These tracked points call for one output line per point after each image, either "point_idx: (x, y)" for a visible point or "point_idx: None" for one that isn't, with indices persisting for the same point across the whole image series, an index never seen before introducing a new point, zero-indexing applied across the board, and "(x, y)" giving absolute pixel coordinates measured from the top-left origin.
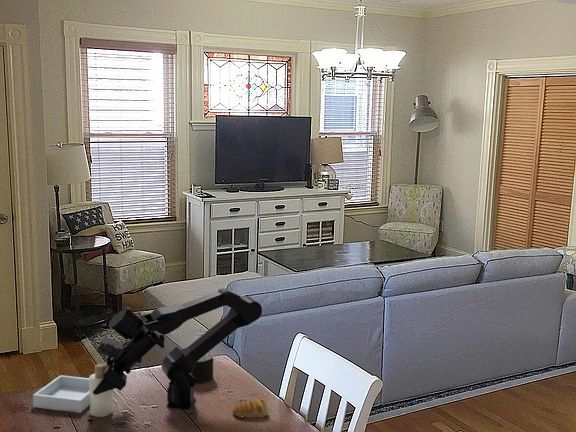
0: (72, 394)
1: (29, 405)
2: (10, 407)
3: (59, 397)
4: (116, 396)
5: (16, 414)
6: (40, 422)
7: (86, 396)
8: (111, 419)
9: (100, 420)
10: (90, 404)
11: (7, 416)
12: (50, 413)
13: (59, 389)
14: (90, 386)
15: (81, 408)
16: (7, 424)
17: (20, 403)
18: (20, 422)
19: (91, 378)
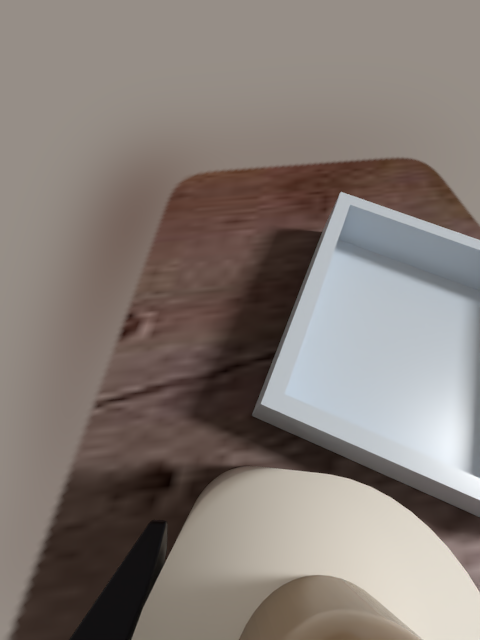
0: (437, 356)
1: None
2: (322, 175)
3: (310, 289)
4: None
5: (268, 193)
6: (188, 263)
7: (331, 437)
8: None
9: None
10: (225, 475)
11: (257, 174)
12: (263, 289)
13: (477, 298)
14: (221, 491)
15: (261, 416)
16: (197, 178)
17: None
18: (204, 207)
19: (255, 517)
